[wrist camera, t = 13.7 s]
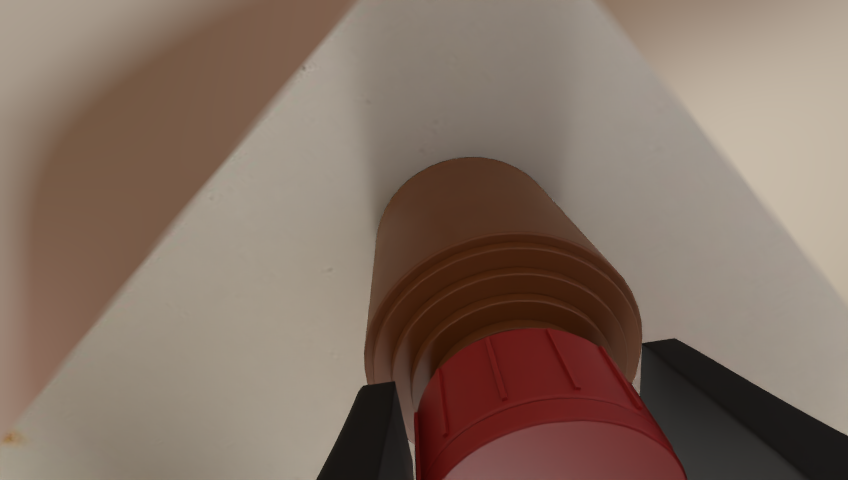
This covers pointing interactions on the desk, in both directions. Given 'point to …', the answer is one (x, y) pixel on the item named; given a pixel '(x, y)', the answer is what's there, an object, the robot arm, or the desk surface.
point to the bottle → (484, 275)
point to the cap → (537, 415)
